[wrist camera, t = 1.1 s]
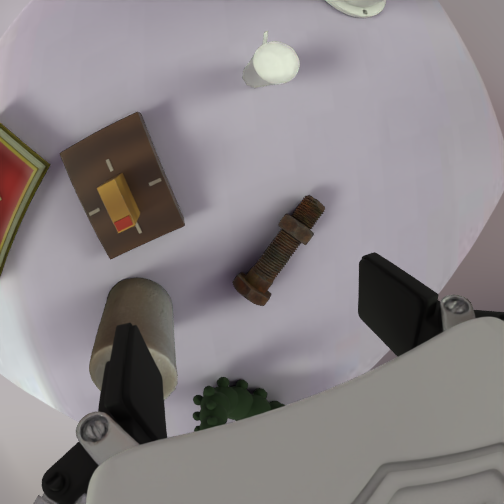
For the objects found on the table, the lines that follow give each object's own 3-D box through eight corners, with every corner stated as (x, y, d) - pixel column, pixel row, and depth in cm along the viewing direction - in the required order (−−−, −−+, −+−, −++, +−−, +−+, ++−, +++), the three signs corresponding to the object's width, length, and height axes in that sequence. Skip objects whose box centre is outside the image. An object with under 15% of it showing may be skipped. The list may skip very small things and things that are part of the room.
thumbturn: (106, 180, 29) (95, 188, 24) (122, 172, 29) (113, 179, 25) (125, 220, 31) (117, 234, 27) (140, 212, 31) (135, 225, 27)
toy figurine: (181, 381, 48) (276, 425, 57) (184, 470, 31) (299, 494, 39) (214, 350, 47) (307, 401, 56) (228, 443, 29) (340, 471, 38)
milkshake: (257, 48, 29) (286, 22, 20) (279, 83, 32) (315, 69, 23) (225, 64, 29) (244, 40, 20) (249, 99, 32) (275, 89, 23)
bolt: (307, 198, 41) (245, 283, 43) (292, 182, 36) (224, 277, 39) (339, 218, 37) (271, 309, 39) (327, 204, 33) (251, 306, 35)
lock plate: (68, 151, 29) (58, 153, 26) (140, 113, 29) (137, 111, 27) (114, 250, 35) (109, 260, 32) (184, 218, 36) (185, 226, 33)
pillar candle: (94, 306, 37) (69, 383, 24) (137, 262, 36) (122, 335, 23) (143, 344, 41) (141, 424, 28) (188, 307, 41) (199, 387, 27)
